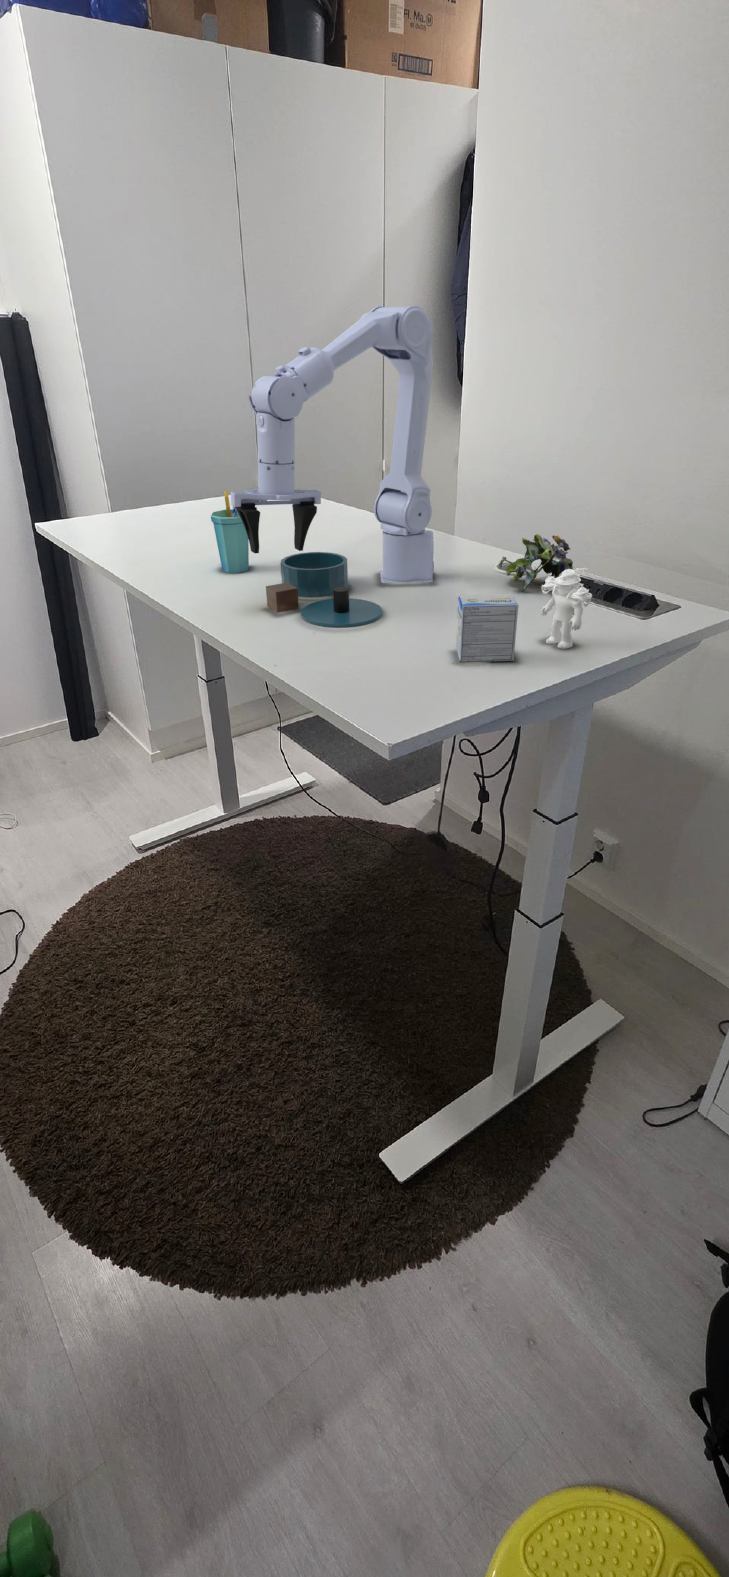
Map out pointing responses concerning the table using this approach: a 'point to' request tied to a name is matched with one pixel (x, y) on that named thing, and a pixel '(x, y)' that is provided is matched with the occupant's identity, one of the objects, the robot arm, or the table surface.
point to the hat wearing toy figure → (565, 605)
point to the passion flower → (549, 556)
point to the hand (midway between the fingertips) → (277, 550)
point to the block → (282, 597)
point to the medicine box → (486, 627)
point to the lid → (341, 611)
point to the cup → (231, 539)
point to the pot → (315, 573)
